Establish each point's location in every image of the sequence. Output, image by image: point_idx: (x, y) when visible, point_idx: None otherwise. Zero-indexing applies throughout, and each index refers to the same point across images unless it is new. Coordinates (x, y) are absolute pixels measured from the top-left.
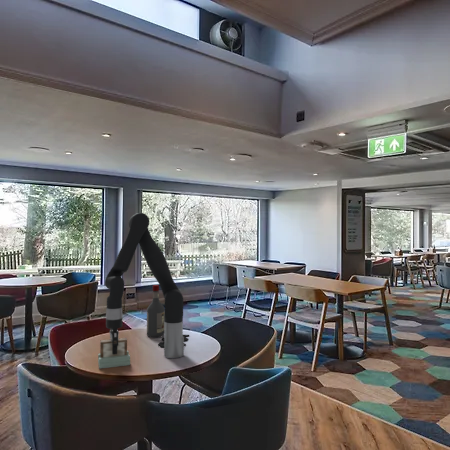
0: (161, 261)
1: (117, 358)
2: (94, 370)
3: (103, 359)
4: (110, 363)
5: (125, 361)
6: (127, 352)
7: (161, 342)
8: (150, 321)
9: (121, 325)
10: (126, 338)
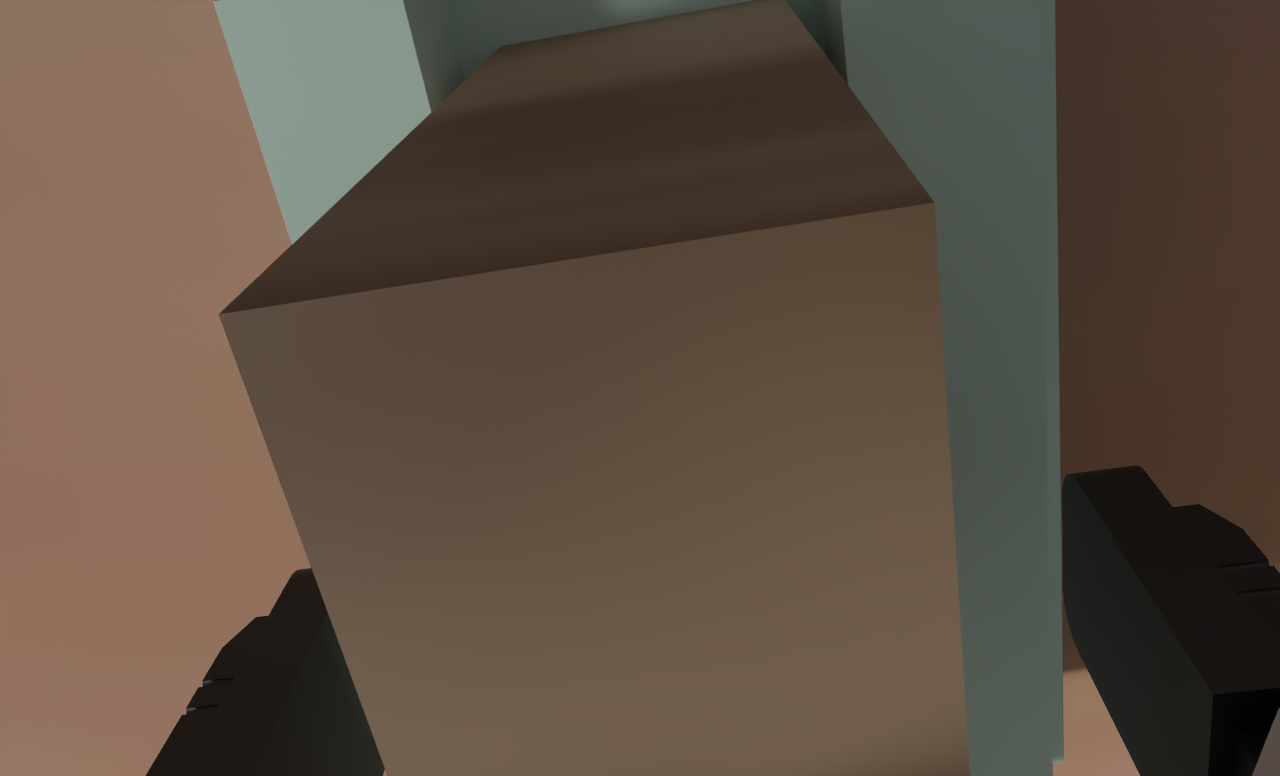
0: None
1: (1032, 359)
2: (1114, 751)
3: (1047, 752)
4: (1053, 497)
5: (1054, 36)
6: (418, 16)
7: None
8: None
9: None
10: (460, 288)
